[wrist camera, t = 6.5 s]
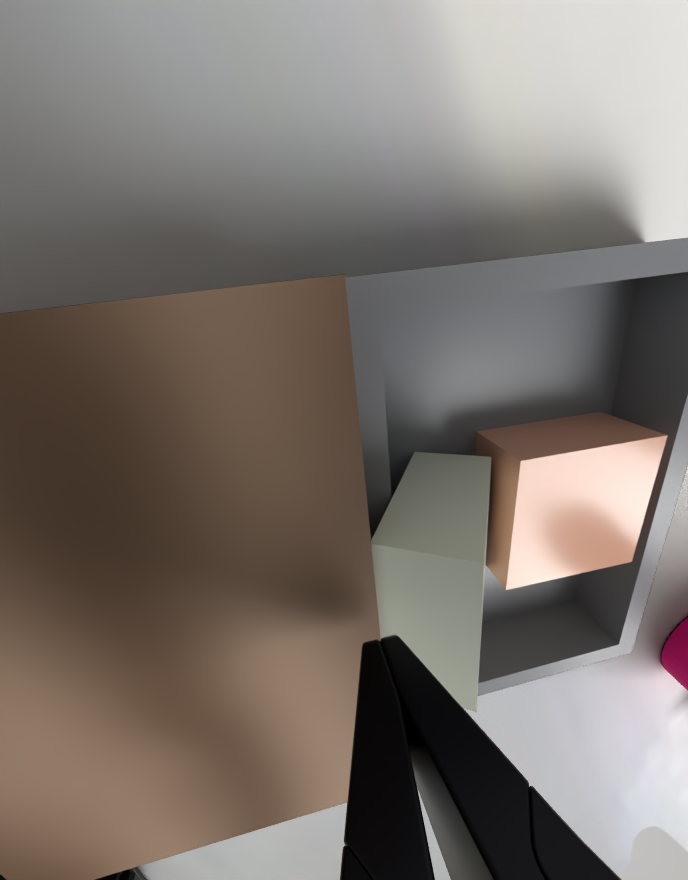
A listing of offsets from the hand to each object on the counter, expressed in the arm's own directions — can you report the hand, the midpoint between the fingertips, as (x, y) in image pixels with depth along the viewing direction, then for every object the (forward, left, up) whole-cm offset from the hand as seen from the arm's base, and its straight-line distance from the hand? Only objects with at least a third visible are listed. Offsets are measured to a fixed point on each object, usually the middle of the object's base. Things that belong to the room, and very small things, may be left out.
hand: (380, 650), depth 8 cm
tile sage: (+2, 0, -3) cm, 4 cm away
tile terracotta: (+8, 0, -3) cm, 8 cm away
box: (+6, 0, -6) cm, 8 cm away
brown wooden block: (-6, 0, -6) cm, 8 cm away
